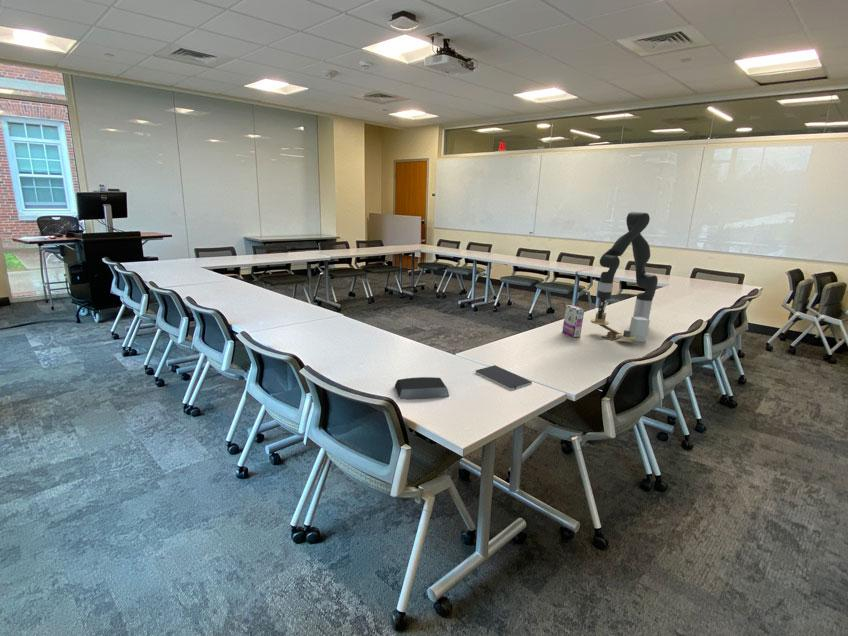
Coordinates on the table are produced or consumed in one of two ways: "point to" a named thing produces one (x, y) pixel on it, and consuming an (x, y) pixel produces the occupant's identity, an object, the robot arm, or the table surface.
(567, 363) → the table surface
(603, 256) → the robot arm
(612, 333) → the balance
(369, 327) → the table surface
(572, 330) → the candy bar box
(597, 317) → the walnut block
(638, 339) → the supplement box
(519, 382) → the notebook
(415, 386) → the external hard drive
